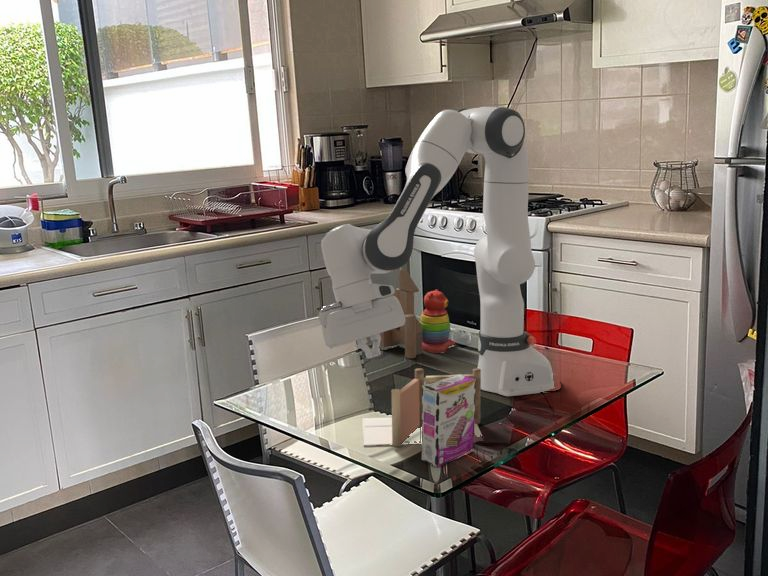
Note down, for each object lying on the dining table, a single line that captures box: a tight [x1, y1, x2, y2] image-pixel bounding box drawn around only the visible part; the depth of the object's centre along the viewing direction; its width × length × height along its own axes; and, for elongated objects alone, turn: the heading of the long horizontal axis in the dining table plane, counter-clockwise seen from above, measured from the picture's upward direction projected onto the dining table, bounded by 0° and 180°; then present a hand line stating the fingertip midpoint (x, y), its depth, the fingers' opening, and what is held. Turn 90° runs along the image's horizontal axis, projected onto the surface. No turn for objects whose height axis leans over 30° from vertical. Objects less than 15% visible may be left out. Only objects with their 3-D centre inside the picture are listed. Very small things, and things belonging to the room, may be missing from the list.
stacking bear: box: [419, 289, 457, 354], centre depth 233 cm, size 11×10×18 cm
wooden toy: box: [380, 268, 423, 360], centre depth 229 cm, size 16×7×25 cm, turn 42°
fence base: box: [414, 367, 482, 426], centre depth 174 cm, size 15×2×14 cm, turn 93°
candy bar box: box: [421, 373, 476, 468], centre depth 157 cm, size 11×5×16 cm, turn 131°
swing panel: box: [390, 378, 420, 447], centre depth 167 cm, size 12×2×12 cm, turn 155°
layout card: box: [361, 416, 483, 448], centre depth 172 cm, size 26×16×1 cm, turn 93°
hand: (374, 356), depth 170 cm, fingers closed
